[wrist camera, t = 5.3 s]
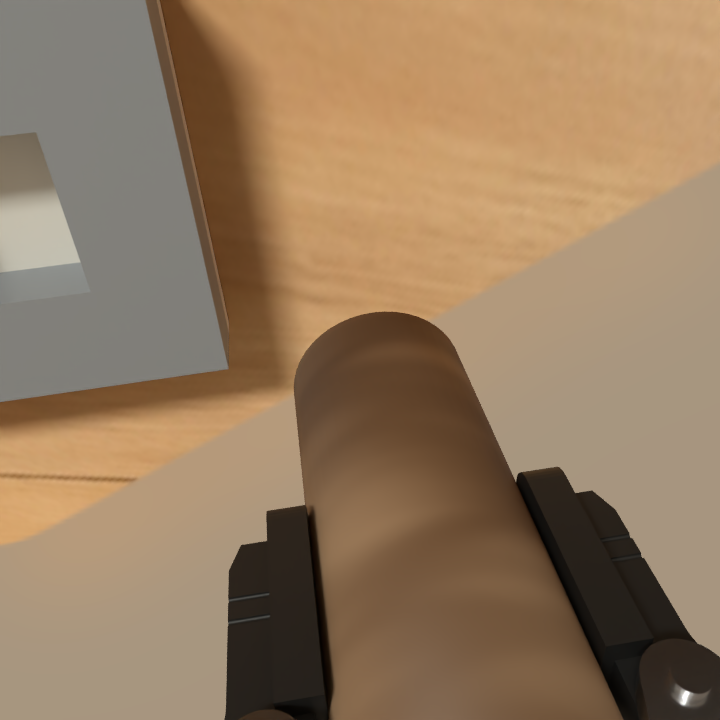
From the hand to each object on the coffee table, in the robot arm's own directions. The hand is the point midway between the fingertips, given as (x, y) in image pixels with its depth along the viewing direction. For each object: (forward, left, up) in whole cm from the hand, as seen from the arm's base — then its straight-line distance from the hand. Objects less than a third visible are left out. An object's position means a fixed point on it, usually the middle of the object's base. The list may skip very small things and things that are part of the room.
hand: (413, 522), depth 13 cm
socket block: (+13, 0, -21) cm, 25 cm away
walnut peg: (0, 0, -4) cm, 4 cm away
